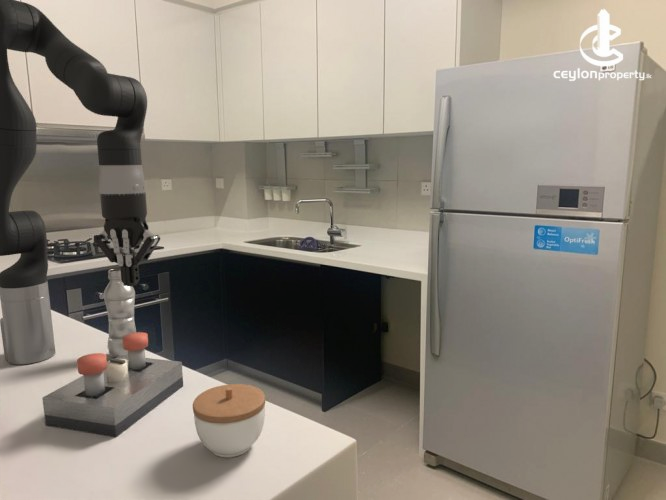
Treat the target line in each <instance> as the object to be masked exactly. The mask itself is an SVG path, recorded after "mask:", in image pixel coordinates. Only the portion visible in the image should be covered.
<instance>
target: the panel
mask: <svg viewBox="0 0 666 500" xmlns="http://www.w3.org/2000/svg"><path fill="white" fill-rule="evenodd" d="M118 358H123V359H126V360H127V364H128V378H127V379H126V380H124V381H121V382H116V383H111V382H108V381H107V378H106V370H104V371H103V375H104V385H105V391H104V392H103V393H101V394H99V395H95V396H87V395H86V394H85V386H84V376H83V375H82V376H79V377H78V378H76V379H74V380H72V381H70V382H69V383H67V384H64V385H63V386H61V387H59V388H58V389H55V390H54V391H52V392H50V393H48V394H46V395H44V396H43V397H42V406H43V415H44V425H45V427H52V428H57V429H62V430H63V429H65V430H71V431H77V432H80V433H81V432H82V433H89V434H94V435H100V436H107V437H111V438H112V437H113V438H117V437H118V436H120V435H122V434H123V433H124V432H125V431H127V430H128V429H129V428H130V427H132V426H133V425H134V424H136V423H137V422H138V421H139V420H141V419H142V418H143V417H145V416H146V415H148V413H150V412H151V411H153V410H154V409H156V408H157V407H158V406H160V404H162V403H164V401H165V400H167V399H168V398H169V397H171V396H172V395H174V394H175V393H176V392H177V391H179V390H180V389H181V388H182V387H184V376H183V361H177V360H169V359H160V358H152V357H151V358H150V357H145V359H146V366H145V367H144V368H141V369H136V370H133V369H130V368H129V361H128V356H124V355H120V356H118V357H114V359H118Z"/></svg>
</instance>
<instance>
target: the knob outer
mask: <svg viewBox="0 0 666 500" xmlns="http://www.w3.org/2000/svg"><path fill="white" fill-rule="evenodd" d="M76 360H77V362H76V365H77V372H78V374H80V375H82V376H84V386H85V394H86V395H87V396H95V395H99V394H101V393H103V392H104V391H105V385H104V375H103V371H104V370H106V369H107V362H108V360H107V354H105V353H101V352H100V353H99V352H95V353H88V354H86V355H82V356H80V357H79V358H77V359H76Z"/></svg>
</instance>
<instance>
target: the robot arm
mask: <svg viewBox="0 0 666 500" xmlns="http://www.w3.org/2000/svg"><path fill="white" fill-rule="evenodd" d="M8 50H11V51H15V52H20V53H33V54H36V55H39V56H41V57H44V59H45V64H46V66H47V68H48V70H49V71H50V73H51V74H52V75H53V76H54V78H56V79H57V80H59V81H60V82H61V83H63V85H66V86H67V87H68V88H69V89H71V90H72V91H73V92H74V94H75V96H76V97H77V98H78V100H79V101H80V102H79V103H81V105H82V106H83V107H84V108H85V109H86V110H88V111H89V112H91V113H94V114H95V115H99V116H104V117H106V116H107V117H117V120H116V123H115V125H114V126H115V127H114V129H110V130H105V131H102V132H99V134H98V135H97V136H96V137H97V138H96V145H97V147H96V148H97V156H98V158H97V159H98V166H99V167H98V169H99V170H98V184H99V185H98V186H99V196H100V209H101V217H102V218H103V219H105V221H104V225H103V231H101V232H100V233H99V234H96V235H94V237H93V239H94V241H95V243H96V244H97V246H99V248H100V250H101V251H102V252H103V254H104V255H105V257H107V259H108V261H109V262H110V263H115V264H117V265H118V266H119V269H120V270H121V280H122V283H123V285H124V286H132V287H134V286H137V285H138V284H139V282H140V280H141V279H140V269H139V268H140V267H139V265H140V264H142V263H144V262H148V260H149V258H150V257H151V256H152V254H153V252H154V250H155V249H156V247H157V245H159V242H160V241H161V236H160V235H159V234H157V235H155V234H154V233H152V232H151V231H150V230H149V225H148V223H147V220H146V217H147V216H148V207H147V206H148V204H147V196H146V195H147V193H146V182H145V174H144V170H143V162H142V161H143V160H142V148H141V140H142V136H143V131H144V125H145V122H146V121H145V120H146V114H147V111H148V110H147V109H148V97H147V96H148V95H147V93H146V91H145V90H146V89H145V88H144V86H143V83H141V82H140V81H139V80H137V79H136V78H134V77H130V76H126V75H119V74H115V73H109V72H108V70H107V68H106V67H105V65H104V64H103V63H102V62H101V61H99V59H97V58H96V57H94V56H93V55H91V54H90V53H88V52H87V51H86V50H84V49H83V48H81V47H80V46H78V45H77V44H75V43H74V42H72V41H71V40H70V39H69V38H68V37H66V35H65V34H64V33H63V32H62V31H60V29H59V28H57V26H56V25H55V24H54V23H53V21H51V20H50V19H49V17H47V16H46V14H44V13H43V12H42V11H41V10H40V9H39V8H38V7H36V6H34V5H32V4H30V3H28V2H23V1H19V0H0V257H2V256H3V257H5V256H12V255H13V256H14V255H19V254H20V257H19V259H18V260H17V261H15V263H14V264H12V265H10V266H9V267H7V268H5V269H3V270H2V271H0V306H1V313H2V314H1V315H2V318H0V332H1V340H2V348H3V355H4V360H5V361H8V363H10V364H13V365H28V364H35V363H38V362H42V361H45V360H48V359H50V358H52V357H53V356H55V354H56V345H55V337H54V334H55V333H54V327H53V319H52V310H51V309H52V308H51V302H50V301H51V300H50V291H49V283H48V270H49V260H48V259H49V258H48V245H47V244H48V242H47V241H48V239H47V231H46V230H47V229H46V225H45V221H44V219H43V218H42V216H41V215H40V214H39V213H38V212H37V211H34V210H17V211H16V210H15V211H10V207H11V206H10V205H11V200H12V197H13V193H14V190H15V188H16V186H17V185H18V183H19V182H20V180H21V179H22V177H23V176H24V174H25V173H26V172H27V170H28V169H29V168H30V166H31V164H32V163H33V161H34V159H35V156H36V153H37V120H36V118H35V115H34V113H33V111H32V110H31V109H32V108H31V107H30V106H29V104H28V103H27V101H26V99H25V98H24V97H23V95H22V93H21V92H20V89H18V87H17V85H16V83H15V82H14V79H13V77H12V74H11V69H10V66H9V65H10V64H9V59H8Z"/></svg>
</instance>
